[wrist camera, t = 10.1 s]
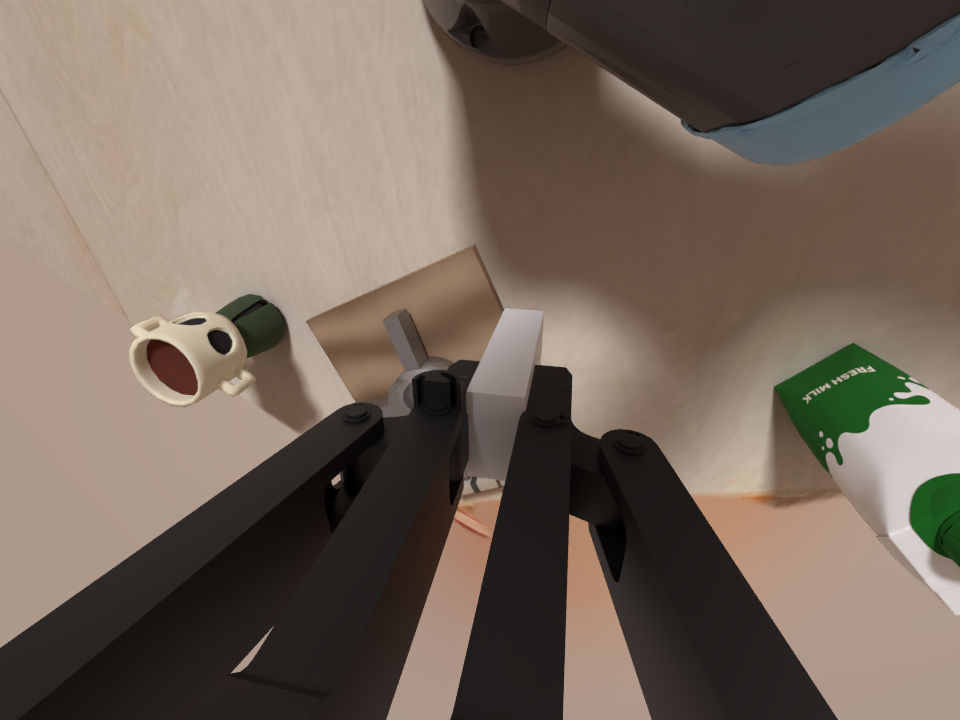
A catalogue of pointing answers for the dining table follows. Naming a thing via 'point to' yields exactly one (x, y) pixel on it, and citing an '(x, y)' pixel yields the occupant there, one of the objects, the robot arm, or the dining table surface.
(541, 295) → the dining table surface
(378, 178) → the dining table surface
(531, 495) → the robot arm
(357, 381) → the wooden mounting board
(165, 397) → the character mug
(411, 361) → the four-spoke handwheel
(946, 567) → the milk carton
